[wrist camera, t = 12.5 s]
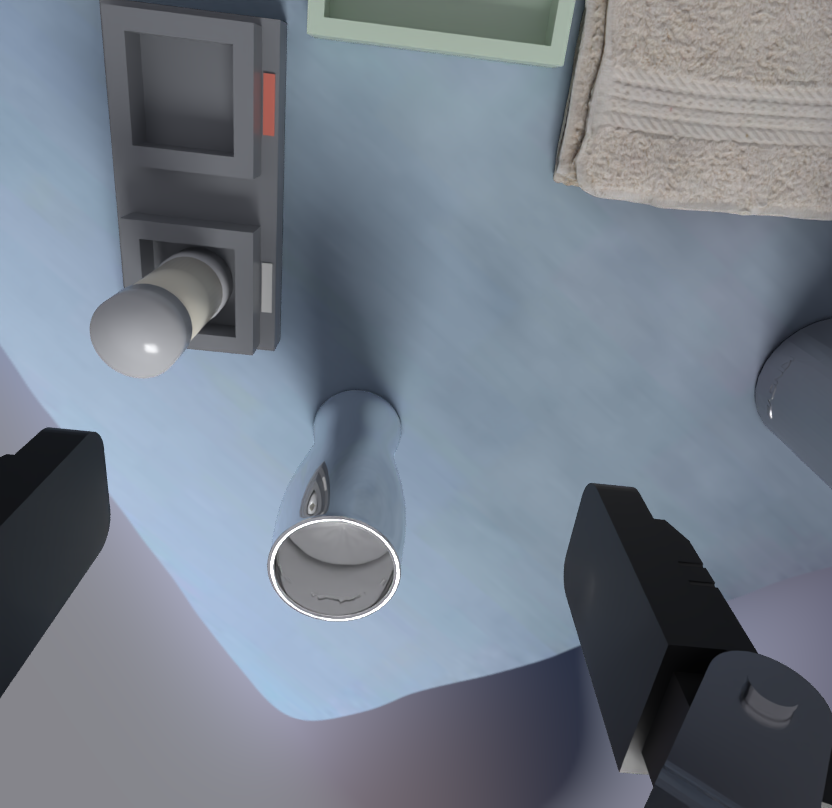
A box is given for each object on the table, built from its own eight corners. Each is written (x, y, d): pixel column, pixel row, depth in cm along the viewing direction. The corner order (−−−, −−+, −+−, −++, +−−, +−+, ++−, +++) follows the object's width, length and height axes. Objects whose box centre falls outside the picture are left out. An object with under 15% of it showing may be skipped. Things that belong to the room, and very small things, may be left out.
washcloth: (581, -45, 34) (596, -57, 31) (914, -12, 35) (957, -21, 32) (543, 192, 39) (553, 200, 36) (834, 216, 40) (865, 226, 37)
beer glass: (324, 369, 43) (283, 495, 30) (421, 401, 44) (425, 537, 31) (296, 454, 46) (247, 604, 33) (388, 483, 47) (378, 639, 34)
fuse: (233, 251, 38) (176, 300, 29) (233, 316, 40) (180, 382, 31) (163, 243, 38) (85, 291, 29) (167, 309, 39) (94, 373, 30)
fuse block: (287, 23, 35) (272, 15, 31) (280, 339, 42) (267, 363, 39) (115, 1, 34) (80, -9, 31) (140, 325, 42) (114, 347, 38)
